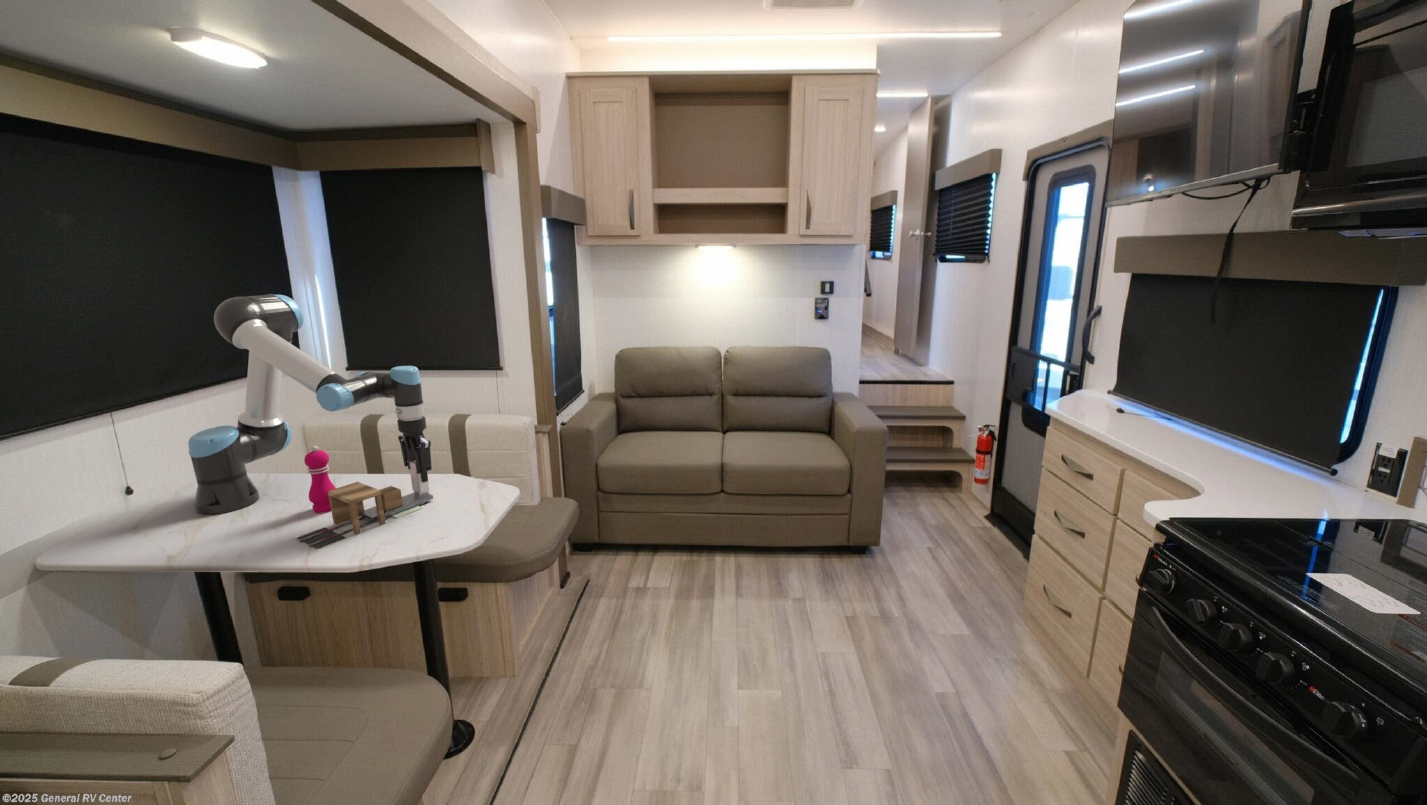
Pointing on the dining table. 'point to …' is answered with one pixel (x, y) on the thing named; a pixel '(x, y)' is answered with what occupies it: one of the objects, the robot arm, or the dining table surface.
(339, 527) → the rails
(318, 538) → the flat slatted panel
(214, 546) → the dining table surface
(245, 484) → the robot arm
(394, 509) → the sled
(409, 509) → the pad
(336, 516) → the tunnel
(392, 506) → the block
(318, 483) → the pepper mill
